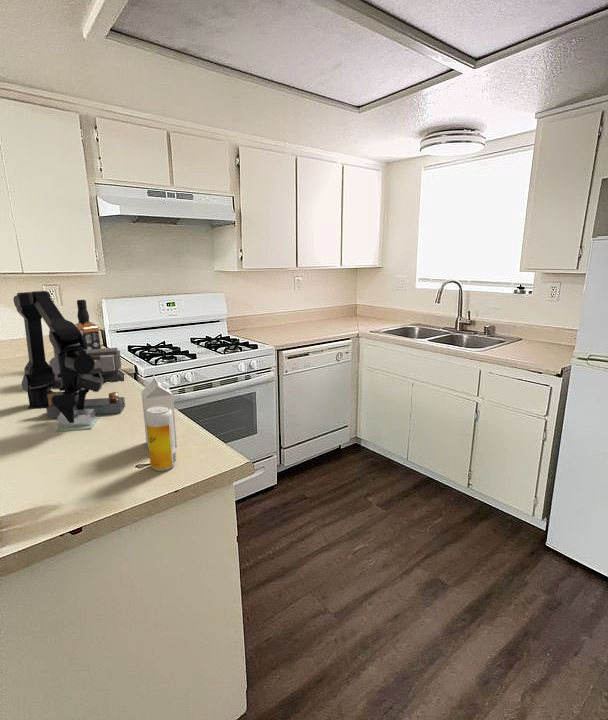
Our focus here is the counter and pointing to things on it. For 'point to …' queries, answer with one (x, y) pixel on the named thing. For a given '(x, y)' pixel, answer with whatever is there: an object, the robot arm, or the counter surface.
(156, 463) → the beer can
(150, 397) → the milk carton
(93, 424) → the mat
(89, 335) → the whiskey bottle
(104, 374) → the juicer
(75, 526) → the counter surface
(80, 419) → the lever cap
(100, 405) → the hand plane
